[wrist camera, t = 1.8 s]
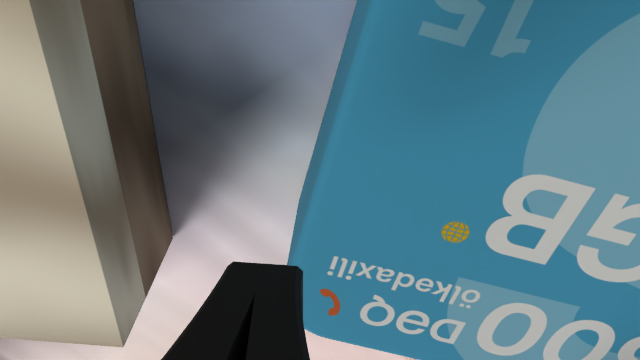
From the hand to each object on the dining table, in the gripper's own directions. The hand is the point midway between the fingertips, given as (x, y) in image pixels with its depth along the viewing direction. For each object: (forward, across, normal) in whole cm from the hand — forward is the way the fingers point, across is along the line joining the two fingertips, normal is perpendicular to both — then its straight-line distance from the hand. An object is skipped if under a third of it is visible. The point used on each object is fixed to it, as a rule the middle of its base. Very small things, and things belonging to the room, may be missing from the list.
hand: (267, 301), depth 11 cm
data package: (+6, -8, -6) cm, 11 cm away
